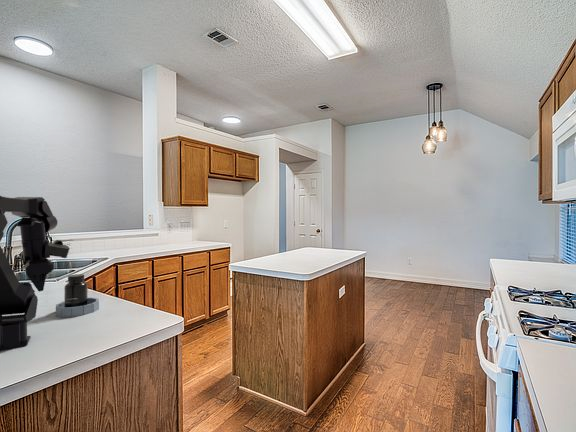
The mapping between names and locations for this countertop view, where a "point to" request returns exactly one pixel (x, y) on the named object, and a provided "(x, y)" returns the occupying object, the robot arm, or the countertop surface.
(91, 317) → the countertop surface
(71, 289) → the supplement bottle
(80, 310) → the bowl
